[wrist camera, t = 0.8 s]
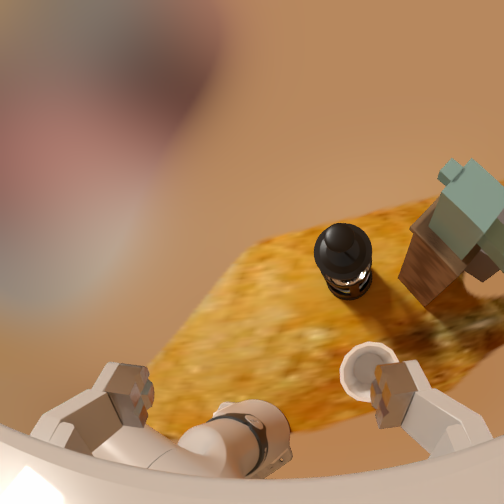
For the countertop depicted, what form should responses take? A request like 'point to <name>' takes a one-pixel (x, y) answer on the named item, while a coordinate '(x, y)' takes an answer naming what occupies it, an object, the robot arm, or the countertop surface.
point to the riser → (483, 262)
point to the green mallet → (470, 211)
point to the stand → (430, 261)
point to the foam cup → (363, 368)
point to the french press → (345, 260)
